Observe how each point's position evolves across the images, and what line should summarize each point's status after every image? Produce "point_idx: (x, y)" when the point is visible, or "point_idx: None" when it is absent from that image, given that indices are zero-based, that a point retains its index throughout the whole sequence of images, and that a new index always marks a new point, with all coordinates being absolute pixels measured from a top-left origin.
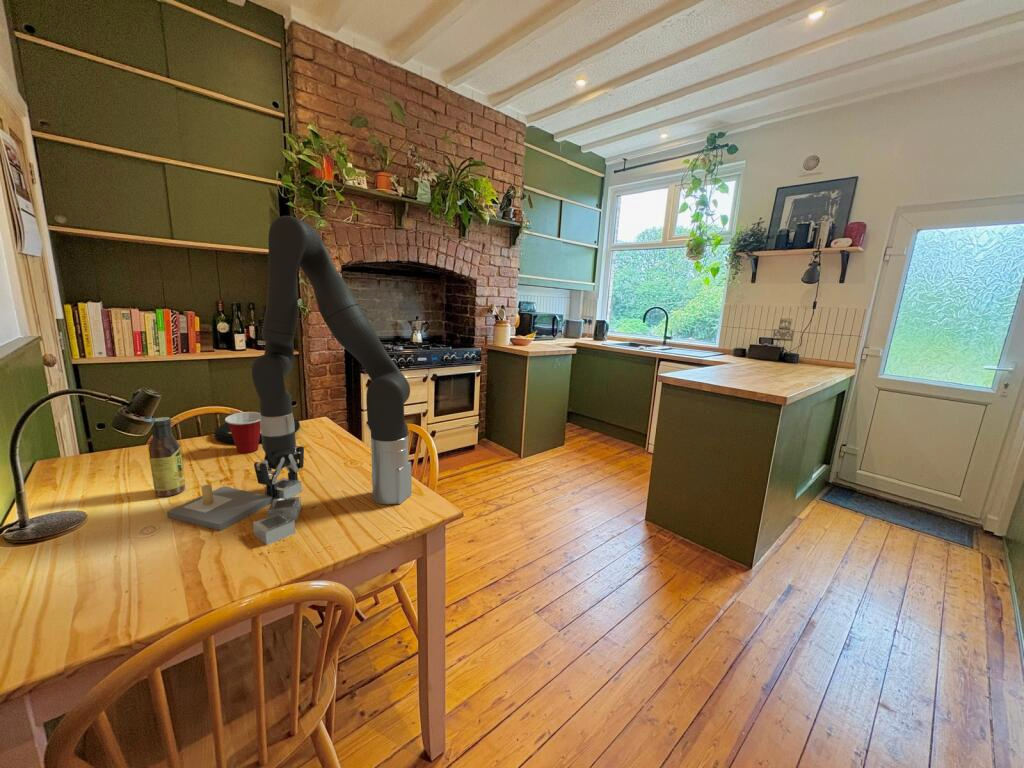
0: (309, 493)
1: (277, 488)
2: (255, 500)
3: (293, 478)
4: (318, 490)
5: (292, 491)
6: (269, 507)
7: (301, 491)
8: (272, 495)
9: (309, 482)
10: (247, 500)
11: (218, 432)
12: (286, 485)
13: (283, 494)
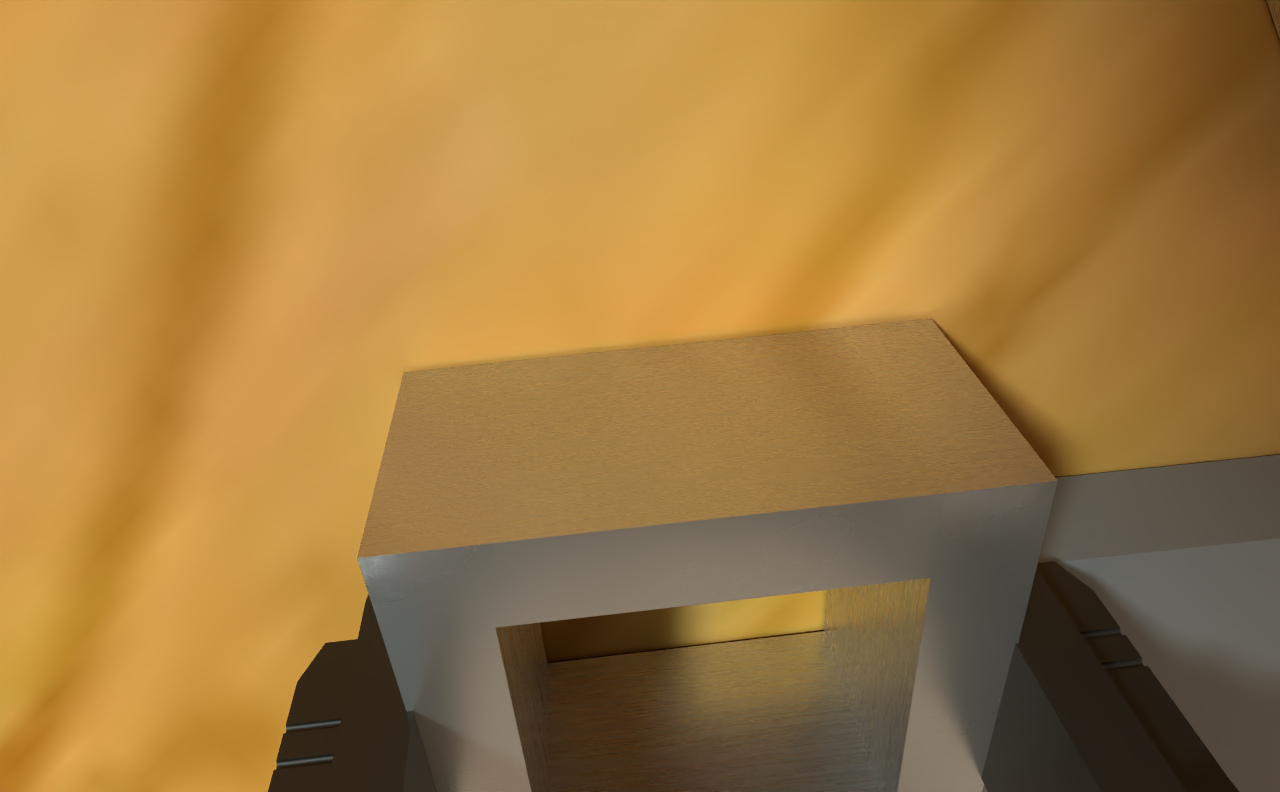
0: (362, 143)
1: (970, 668)
2: (1227, 655)
3: (420, 775)
4: (86, 58)
5: (704, 417)
6: None
7: (417, 373)
8: (1060, 573)
9: (10, 563)
10: (1237, 734)
11: None
12: (538, 705)
13: (1006, 419)
